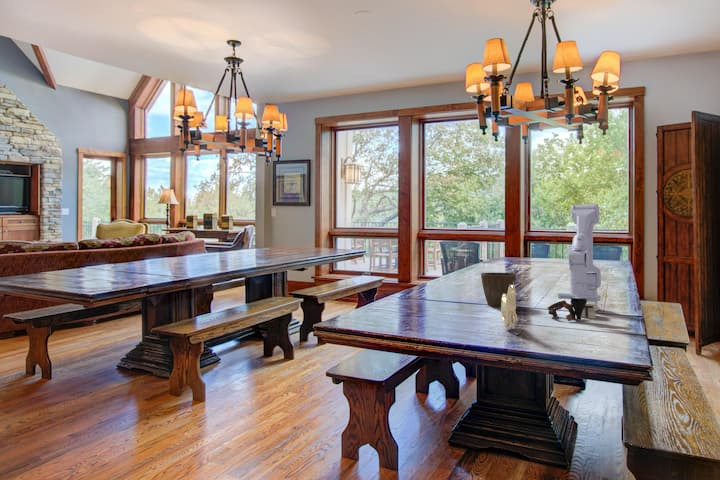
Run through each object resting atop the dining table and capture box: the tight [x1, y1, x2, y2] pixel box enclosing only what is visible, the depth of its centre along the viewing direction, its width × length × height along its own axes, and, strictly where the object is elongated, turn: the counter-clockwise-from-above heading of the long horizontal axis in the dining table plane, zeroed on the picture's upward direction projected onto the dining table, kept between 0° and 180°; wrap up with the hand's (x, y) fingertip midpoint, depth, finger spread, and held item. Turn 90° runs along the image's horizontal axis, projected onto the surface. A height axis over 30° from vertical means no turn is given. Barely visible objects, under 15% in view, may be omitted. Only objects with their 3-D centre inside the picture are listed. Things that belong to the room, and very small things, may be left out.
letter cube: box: [581, 302, 596, 319], centre depth 192 cm, size 6×6×6 cm
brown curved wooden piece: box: [547, 299, 577, 322], centre depth 188 cm, size 12×9×8 cm
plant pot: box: [480, 272, 517, 309], centre depth 213 cm, size 15×15×16 cm
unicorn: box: [500, 281, 518, 329], centre depth 172 cm, size 20×4×17 cm, turn 174°
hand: (578, 319), depth 183 cm, fingers closed
